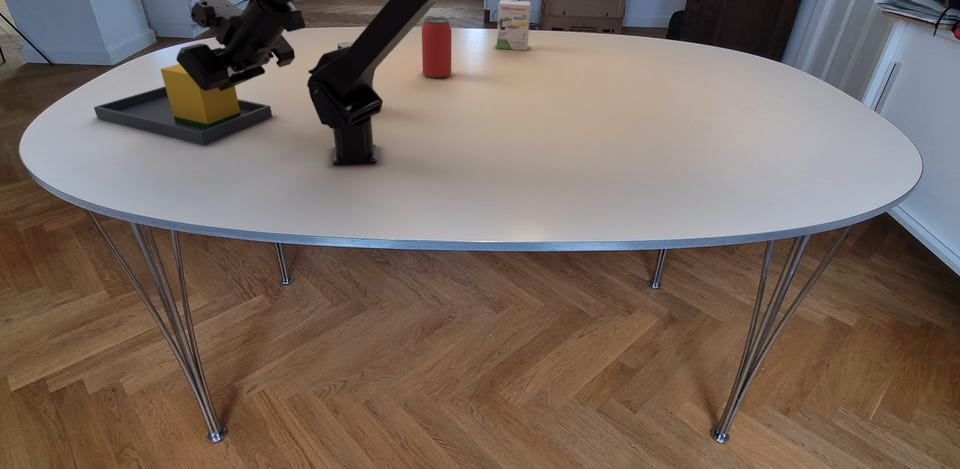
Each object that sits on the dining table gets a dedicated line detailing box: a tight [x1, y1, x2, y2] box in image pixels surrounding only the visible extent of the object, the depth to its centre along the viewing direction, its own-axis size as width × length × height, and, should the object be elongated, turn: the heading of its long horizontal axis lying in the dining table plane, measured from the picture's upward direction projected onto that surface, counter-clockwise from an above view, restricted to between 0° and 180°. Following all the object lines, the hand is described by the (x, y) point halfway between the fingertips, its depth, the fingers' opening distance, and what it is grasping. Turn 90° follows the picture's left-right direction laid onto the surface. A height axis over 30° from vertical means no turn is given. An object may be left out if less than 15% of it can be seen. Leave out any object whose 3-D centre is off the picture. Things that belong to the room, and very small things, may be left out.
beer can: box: [421, 17, 452, 79], centre depth 122 cm, size 7×7×12 cm
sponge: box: [160, 63, 241, 129], centre depth 92 cm, size 8×7×9 cm
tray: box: [93, 86, 273, 146], centre depth 96 cm, size 25×15×2 cm, turn 66°
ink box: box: [496, 0, 532, 51], centre depth 147 cm, size 8×5×12 cm, turn 84°
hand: (220, 88), depth 89 cm, fingers closed
